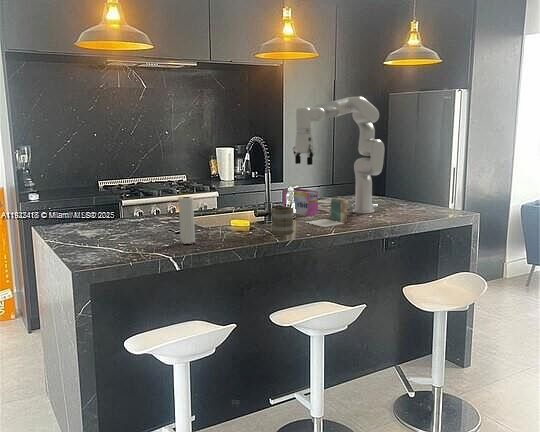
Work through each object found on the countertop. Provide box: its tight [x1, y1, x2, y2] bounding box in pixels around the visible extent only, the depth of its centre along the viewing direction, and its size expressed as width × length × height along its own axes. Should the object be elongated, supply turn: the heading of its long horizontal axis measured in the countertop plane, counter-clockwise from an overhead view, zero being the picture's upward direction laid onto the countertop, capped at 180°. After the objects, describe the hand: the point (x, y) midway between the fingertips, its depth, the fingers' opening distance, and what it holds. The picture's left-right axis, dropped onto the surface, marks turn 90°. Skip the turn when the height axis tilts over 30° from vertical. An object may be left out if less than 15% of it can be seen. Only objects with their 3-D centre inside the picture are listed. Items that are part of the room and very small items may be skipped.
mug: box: [271, 206, 294, 236], centre depth 266 cm, size 16×11×12 cm
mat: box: [304, 218, 346, 228], centre depth 286 cm, size 14×16×1 cm
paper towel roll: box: [177, 196, 196, 243], centre depth 243 cm, size 7×6×21 cm
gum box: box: [282, 187, 319, 217], centre depth 318 cm, size 24×8×14 cm, turn 39°
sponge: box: [330, 197, 348, 223], centre depth 290 cm, size 4×8×12 cm, turn 34°
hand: (303, 164), depth 287 cm, fingers open, 9 cm apart
